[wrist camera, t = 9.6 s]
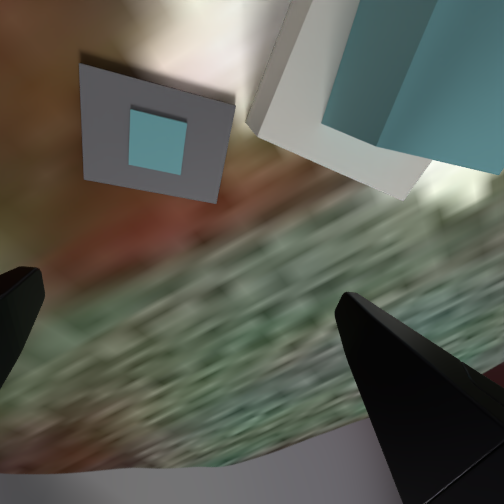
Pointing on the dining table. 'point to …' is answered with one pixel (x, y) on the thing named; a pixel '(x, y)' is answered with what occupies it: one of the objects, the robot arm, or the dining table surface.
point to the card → (152, 135)
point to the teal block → (425, 80)
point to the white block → (321, 100)
